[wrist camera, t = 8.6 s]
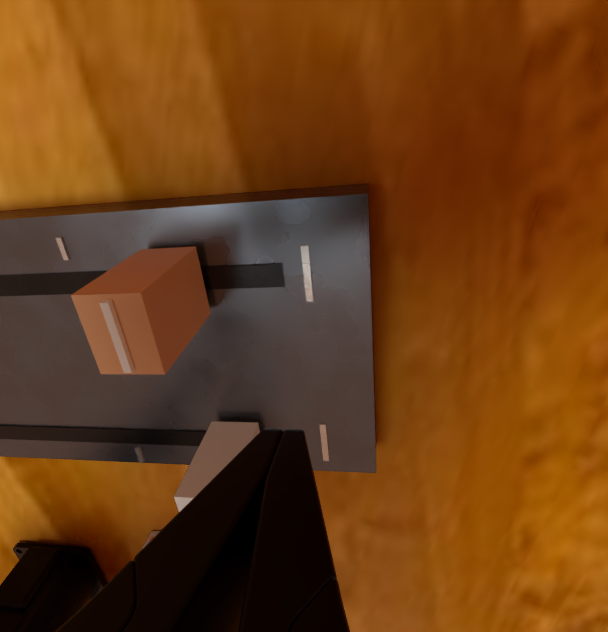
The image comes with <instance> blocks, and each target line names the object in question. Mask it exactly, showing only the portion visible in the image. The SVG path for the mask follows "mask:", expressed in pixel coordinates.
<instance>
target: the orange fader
mask: <svg viewBox="0 0 608 632" xmlns="http://www.w3.org/2000/svg"><path fill="white" fill-rule="evenodd" d="M71 297H72V300H73V303H74V305H75V308H76V310H77V313H78V316H79V318H80V321H81V323H82V326H83V329H84V331H85V334H86V337H87V339H88V342H89V344H90V347H91V350H92V352H93V355H94V358H95V360H96V363H97V365H98V368H99V371H100V373H101V374H159V375H165V374H166V373H167V371H168V370H169V369H170V367H171V366H172V365H173V363H174V362H175V361H176V359H177V358H178V357H179V355H180V354H181V353H182V351H183V350H184V349H185V347H186V346H187V345H188V343H189V342H190V341H191V339H192V338H193V337H194V335H195V334H196V333H197V331H198V330H199V329H200V327H201V326H202V325H203V323H204V322H205V321H206V319H207V318H208V317H209V315H210V314H211V312H210V308H209V303H208V299H207V294H206V290H205V285H204V281H203V276H202V272H201V267H200V263H199V258H198V254H197V249H196V246H195V247H176V248H157V249H140V250H139V251H137V252H136V253H134V254H133V255H131V256H130V257H128V258H127V259H125V260H124V261H122V262H121V263H119V264H118V265H116V266H115V267H113V268H112V269H110V270H108V271H107V272H105V273H104V274H102V275H101V276H99V277H98V278H96V279H95V280H93V281H92V282H90V283H89V284H87V285H86V286H84V287H83V288H81V289H80V290H78V291H77V292H75V293H74V294H72V295H71Z"/></svg>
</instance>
